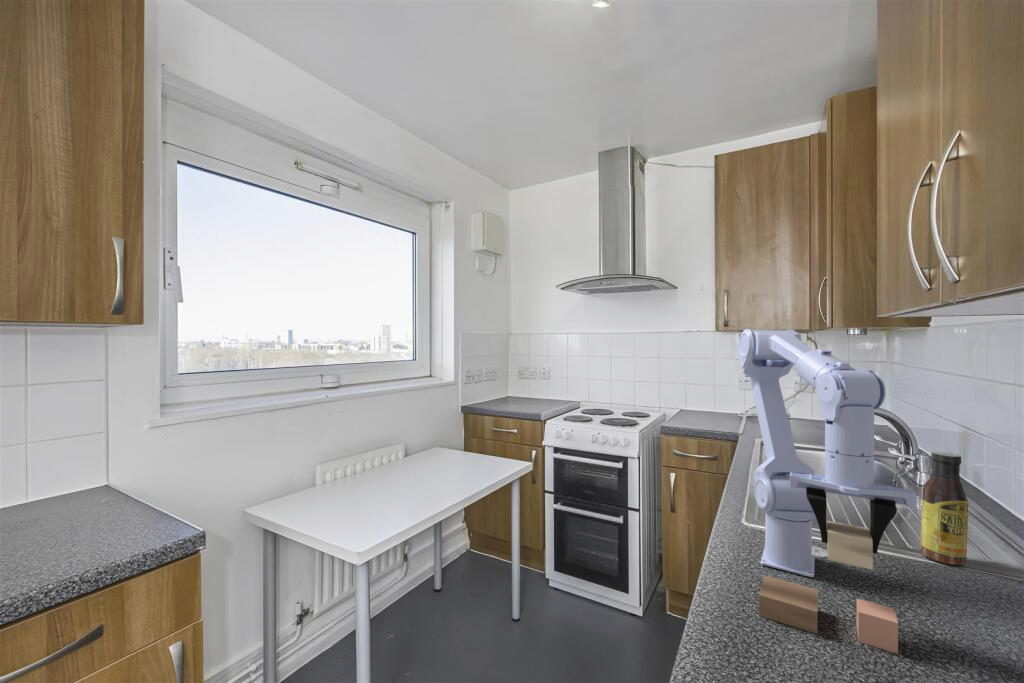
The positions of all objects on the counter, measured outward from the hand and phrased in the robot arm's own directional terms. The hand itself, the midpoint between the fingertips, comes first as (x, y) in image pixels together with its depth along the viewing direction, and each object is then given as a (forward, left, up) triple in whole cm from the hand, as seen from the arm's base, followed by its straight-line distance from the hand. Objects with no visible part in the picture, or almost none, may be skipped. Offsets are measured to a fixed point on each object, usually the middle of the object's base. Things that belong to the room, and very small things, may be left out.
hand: (848, 545), depth 64 cm
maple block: (0, 0, -2) cm, 2 cm away
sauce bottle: (-34, +16, -11) cm, 39 cm away
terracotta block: (+4, +3, -10) cm, 12 cm away
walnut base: (+4, -7, -10) cm, 13 cm away
